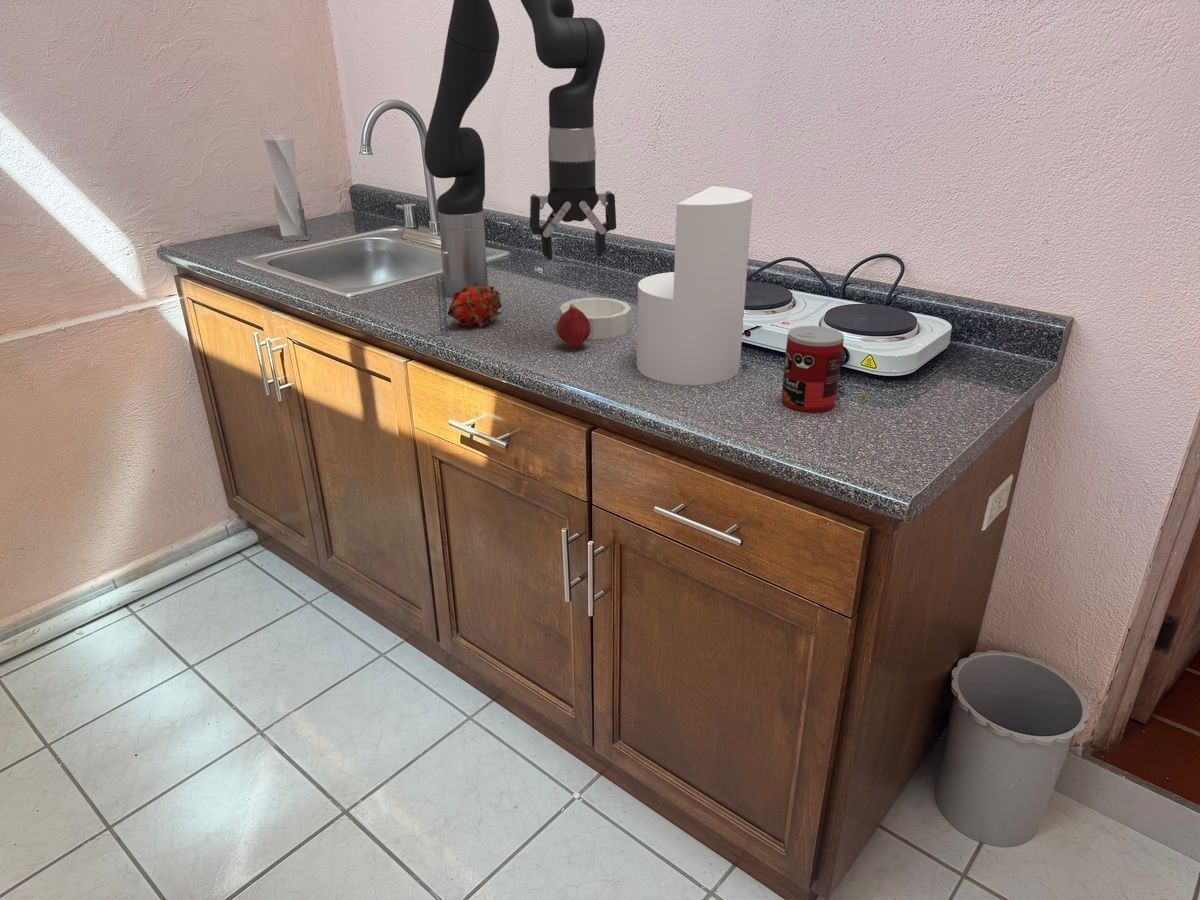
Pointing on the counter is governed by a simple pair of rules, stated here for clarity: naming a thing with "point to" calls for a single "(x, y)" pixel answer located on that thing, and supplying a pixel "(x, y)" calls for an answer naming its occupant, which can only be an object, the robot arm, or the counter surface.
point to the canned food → (812, 368)
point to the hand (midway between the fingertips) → (573, 257)
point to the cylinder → (698, 294)
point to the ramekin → (603, 316)
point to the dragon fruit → (475, 305)
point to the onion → (573, 327)
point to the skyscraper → (285, 184)
